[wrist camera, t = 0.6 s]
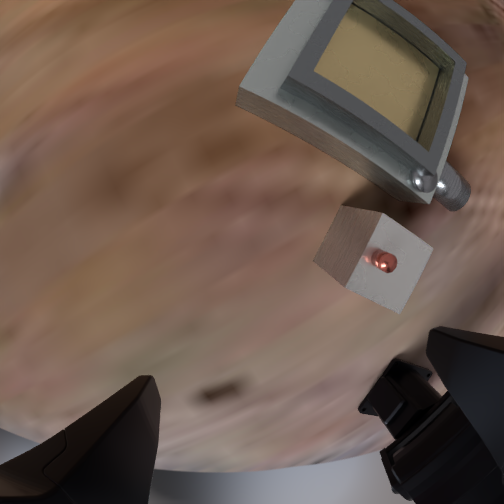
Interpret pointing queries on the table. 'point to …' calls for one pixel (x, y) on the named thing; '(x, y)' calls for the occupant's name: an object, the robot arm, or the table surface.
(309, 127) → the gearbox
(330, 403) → the table surface
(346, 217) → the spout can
